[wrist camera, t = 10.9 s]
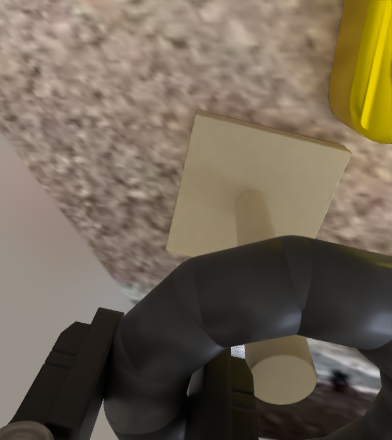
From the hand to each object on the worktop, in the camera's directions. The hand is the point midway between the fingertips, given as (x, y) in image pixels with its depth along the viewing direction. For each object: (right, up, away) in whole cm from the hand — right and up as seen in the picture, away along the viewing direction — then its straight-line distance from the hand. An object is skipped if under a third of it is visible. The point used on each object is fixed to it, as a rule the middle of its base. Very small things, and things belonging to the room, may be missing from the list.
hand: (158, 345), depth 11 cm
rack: (+5, +5, +13) cm, 15 cm away
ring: (+4, -1, -1) cm, 4 cm away
